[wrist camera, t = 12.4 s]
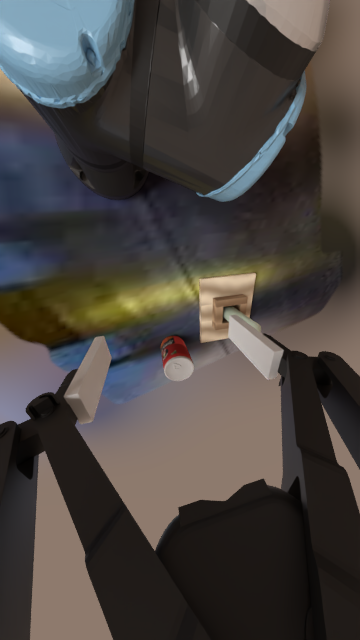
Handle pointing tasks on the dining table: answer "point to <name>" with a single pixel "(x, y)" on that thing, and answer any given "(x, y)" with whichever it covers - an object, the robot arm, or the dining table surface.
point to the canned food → (176, 359)
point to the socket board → (218, 291)
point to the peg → (232, 311)
